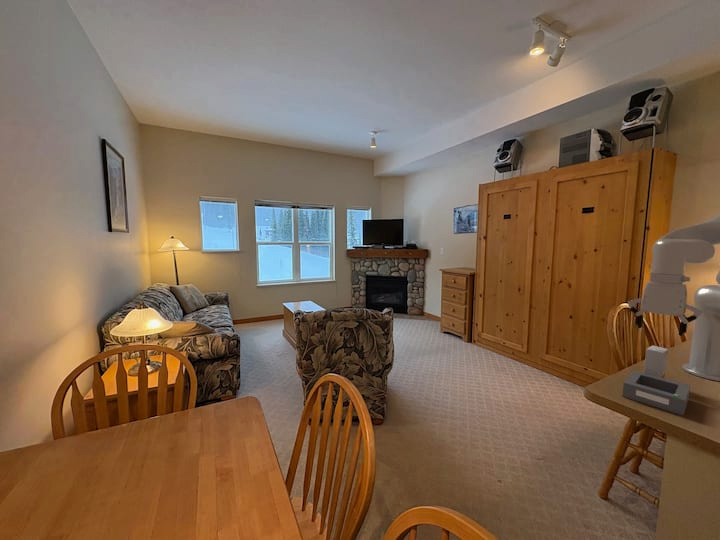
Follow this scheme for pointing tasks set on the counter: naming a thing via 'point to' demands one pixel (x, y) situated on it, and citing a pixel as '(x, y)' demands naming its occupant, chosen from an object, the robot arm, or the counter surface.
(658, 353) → the skincare box
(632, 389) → the port block
